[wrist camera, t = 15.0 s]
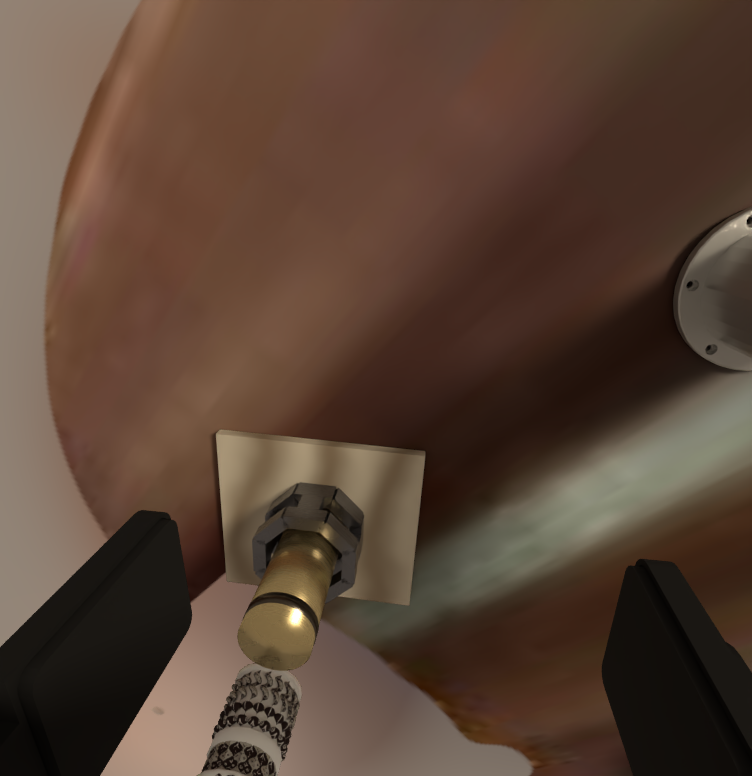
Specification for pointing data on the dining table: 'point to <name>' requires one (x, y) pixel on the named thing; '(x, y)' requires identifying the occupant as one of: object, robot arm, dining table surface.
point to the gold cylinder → (289, 601)
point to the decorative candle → (254, 724)
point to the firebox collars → (314, 529)
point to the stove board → (334, 468)
